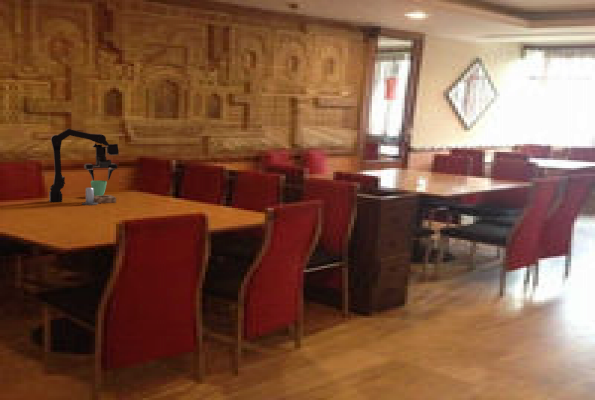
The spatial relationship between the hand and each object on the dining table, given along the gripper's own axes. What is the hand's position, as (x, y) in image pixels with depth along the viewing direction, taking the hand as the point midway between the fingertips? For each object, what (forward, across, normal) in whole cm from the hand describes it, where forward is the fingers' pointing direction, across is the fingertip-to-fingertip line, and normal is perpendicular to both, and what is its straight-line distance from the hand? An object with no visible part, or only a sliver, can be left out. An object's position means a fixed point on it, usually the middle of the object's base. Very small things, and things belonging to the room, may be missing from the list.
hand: (101, 180), depth 386 cm
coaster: (+12, -10, -13) cm, 21 cm away
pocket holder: (+12, 0, -5) cm, 13 cm away
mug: (+13, +4, +20) cm, 24 cm away
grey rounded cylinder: (+12, -10, -13) cm, 20 cm away
